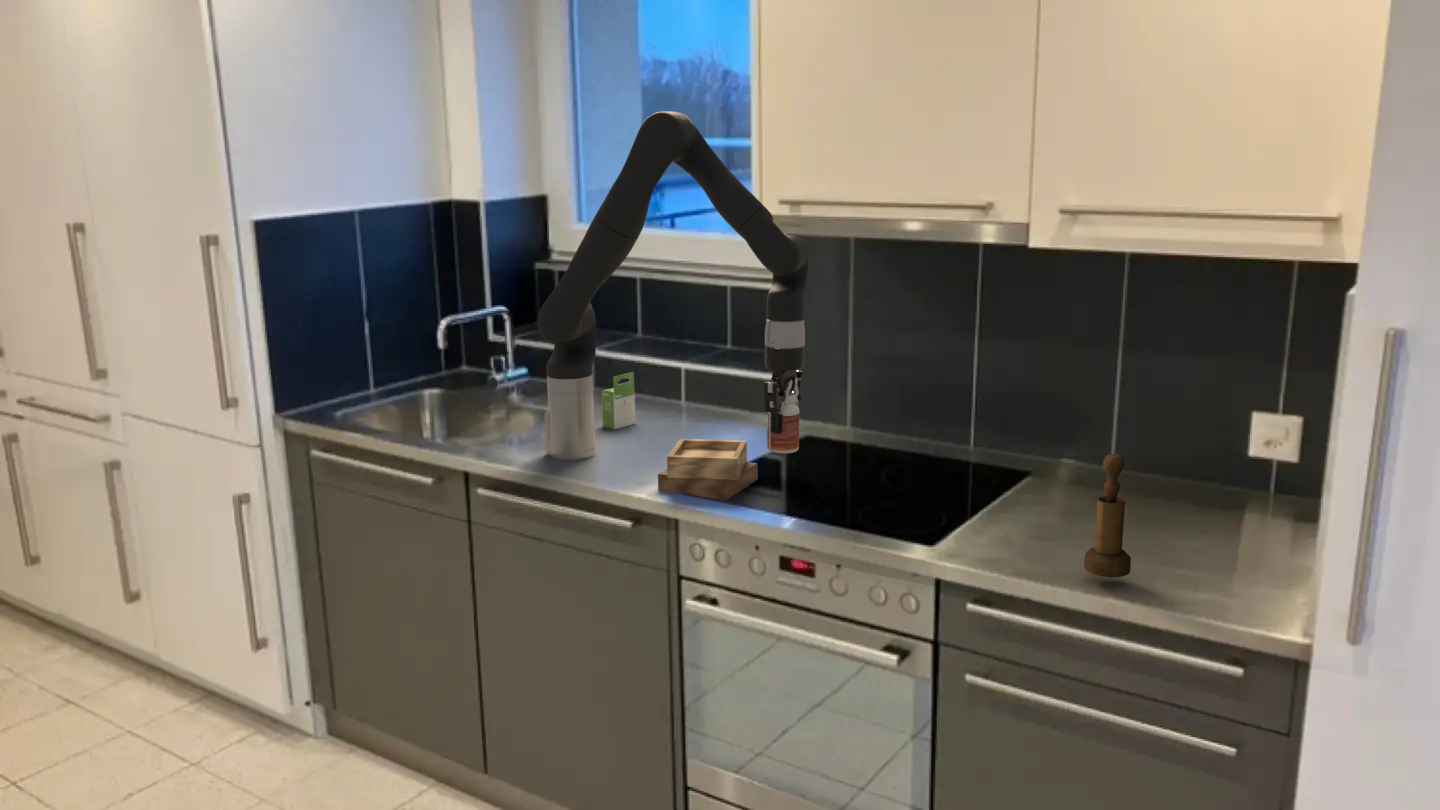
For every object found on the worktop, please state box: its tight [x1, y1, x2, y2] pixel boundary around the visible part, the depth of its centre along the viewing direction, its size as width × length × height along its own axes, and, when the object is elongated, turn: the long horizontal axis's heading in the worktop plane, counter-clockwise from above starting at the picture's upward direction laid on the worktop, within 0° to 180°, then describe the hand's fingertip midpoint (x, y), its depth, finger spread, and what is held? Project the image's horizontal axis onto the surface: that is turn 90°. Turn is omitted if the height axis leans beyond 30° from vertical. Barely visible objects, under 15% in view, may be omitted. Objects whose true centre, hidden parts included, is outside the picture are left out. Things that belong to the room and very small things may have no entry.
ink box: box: [601, 371, 637, 430], centre depth 266 cm, size 7×4×13 cm, turn 141°
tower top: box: [666, 438, 748, 480], centre depth 224 cm, size 13×13×4 cm
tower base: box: [657, 461, 759, 501], centre depth 226 cm, size 14×14×4 cm
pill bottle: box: [766, 393, 800, 454], centre depth 229 cm, size 6×6×11 cm
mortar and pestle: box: [1083, 453, 1132, 578], centre depth 178 cm, size 7×6×18 cm
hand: (783, 428), depth 229 cm, fingers closed on pill bottle, 6 cm apart
